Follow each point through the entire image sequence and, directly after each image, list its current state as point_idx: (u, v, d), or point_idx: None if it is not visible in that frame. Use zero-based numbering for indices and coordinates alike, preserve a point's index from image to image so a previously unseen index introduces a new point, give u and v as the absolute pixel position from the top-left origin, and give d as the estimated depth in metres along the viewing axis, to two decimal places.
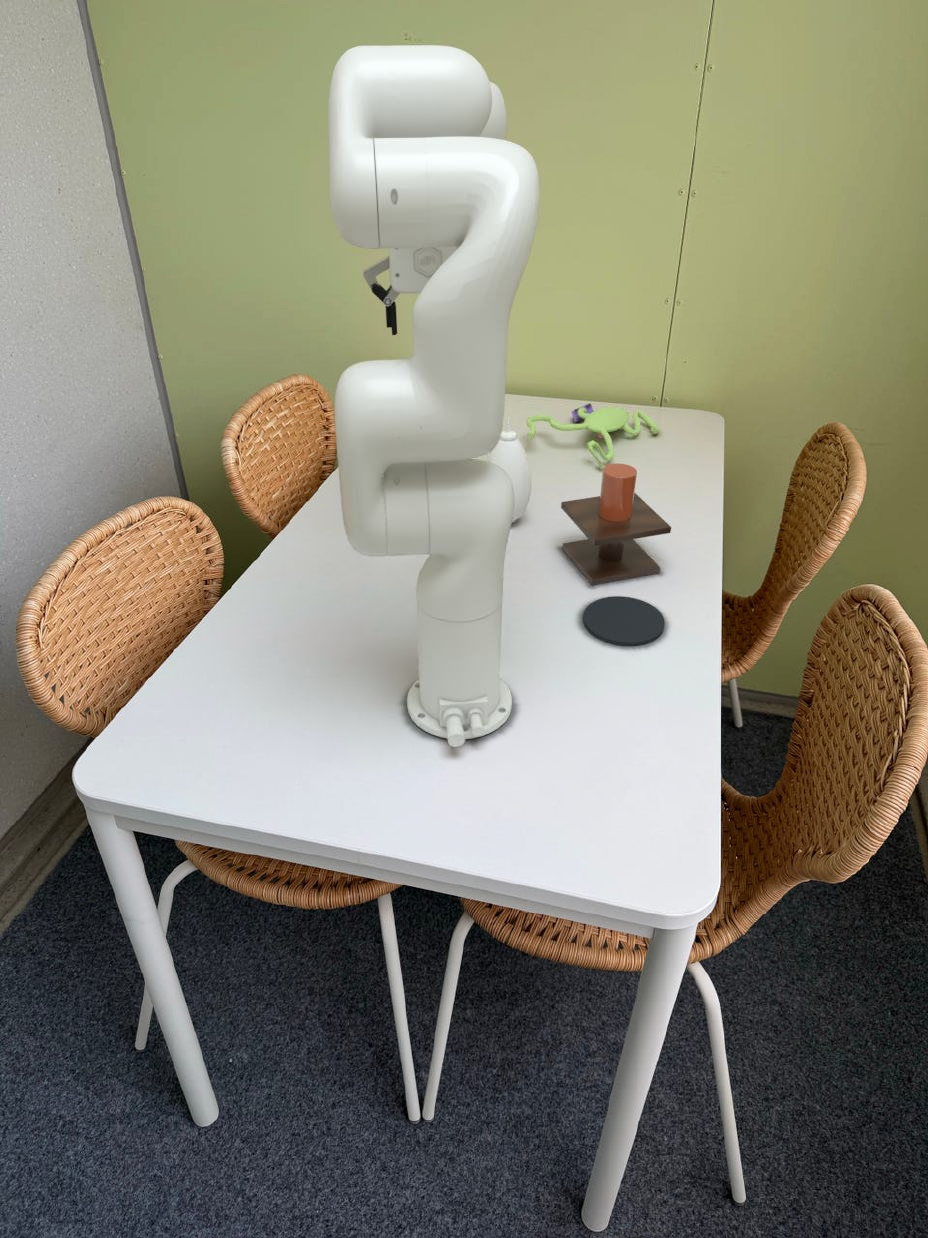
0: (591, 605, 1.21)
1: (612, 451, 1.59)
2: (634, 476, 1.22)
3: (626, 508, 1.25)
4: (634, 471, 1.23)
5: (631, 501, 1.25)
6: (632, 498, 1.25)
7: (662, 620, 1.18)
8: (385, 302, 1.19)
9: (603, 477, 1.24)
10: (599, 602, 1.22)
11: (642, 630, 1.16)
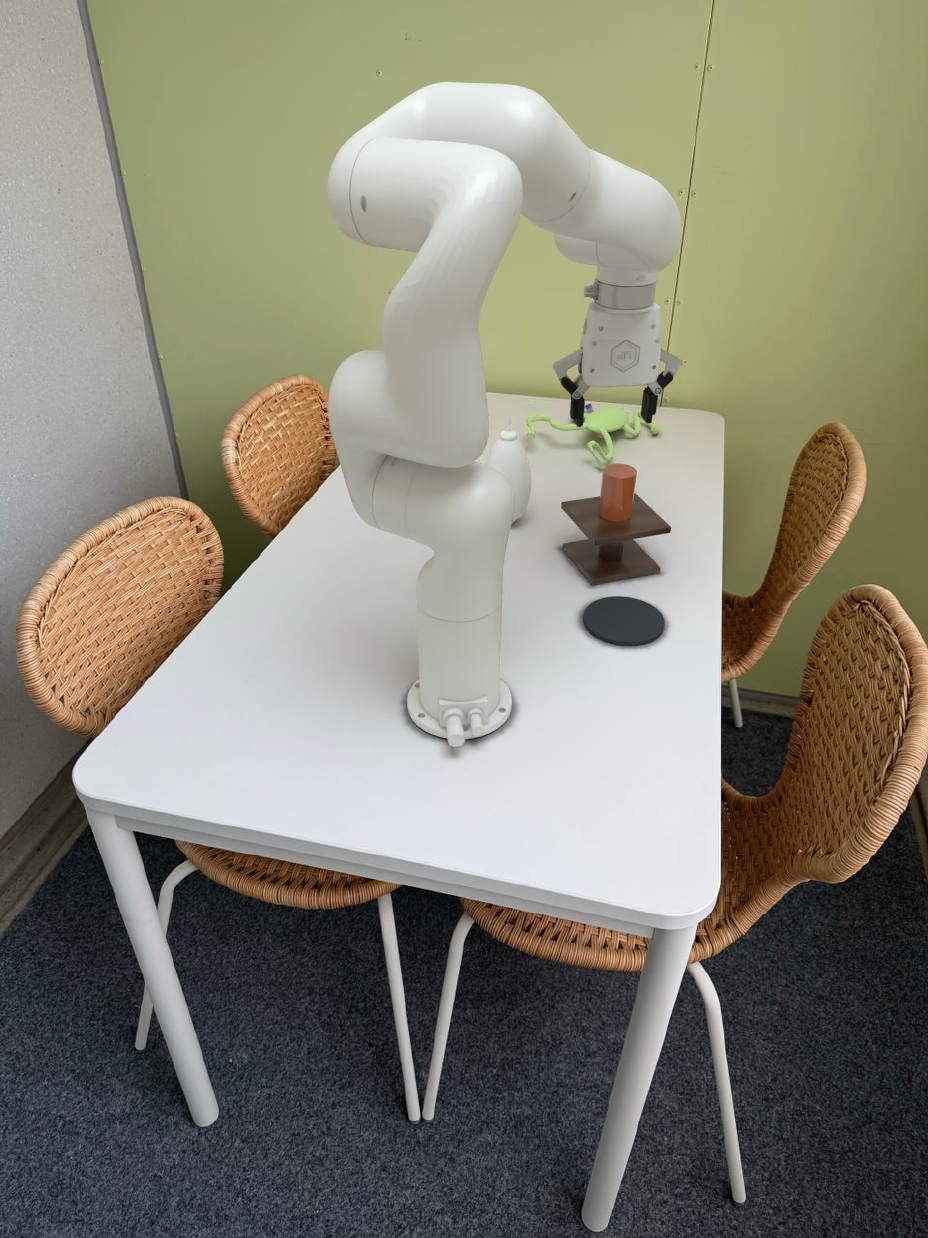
0: (591, 605, 1.21)
1: (612, 451, 1.59)
2: (634, 476, 1.22)
3: (626, 508, 1.25)
4: (634, 471, 1.23)
5: (631, 501, 1.25)
6: (632, 498, 1.25)
7: (662, 620, 1.18)
8: (574, 395, 1.16)
9: (603, 477, 1.24)
10: (599, 602, 1.22)
11: (642, 630, 1.16)
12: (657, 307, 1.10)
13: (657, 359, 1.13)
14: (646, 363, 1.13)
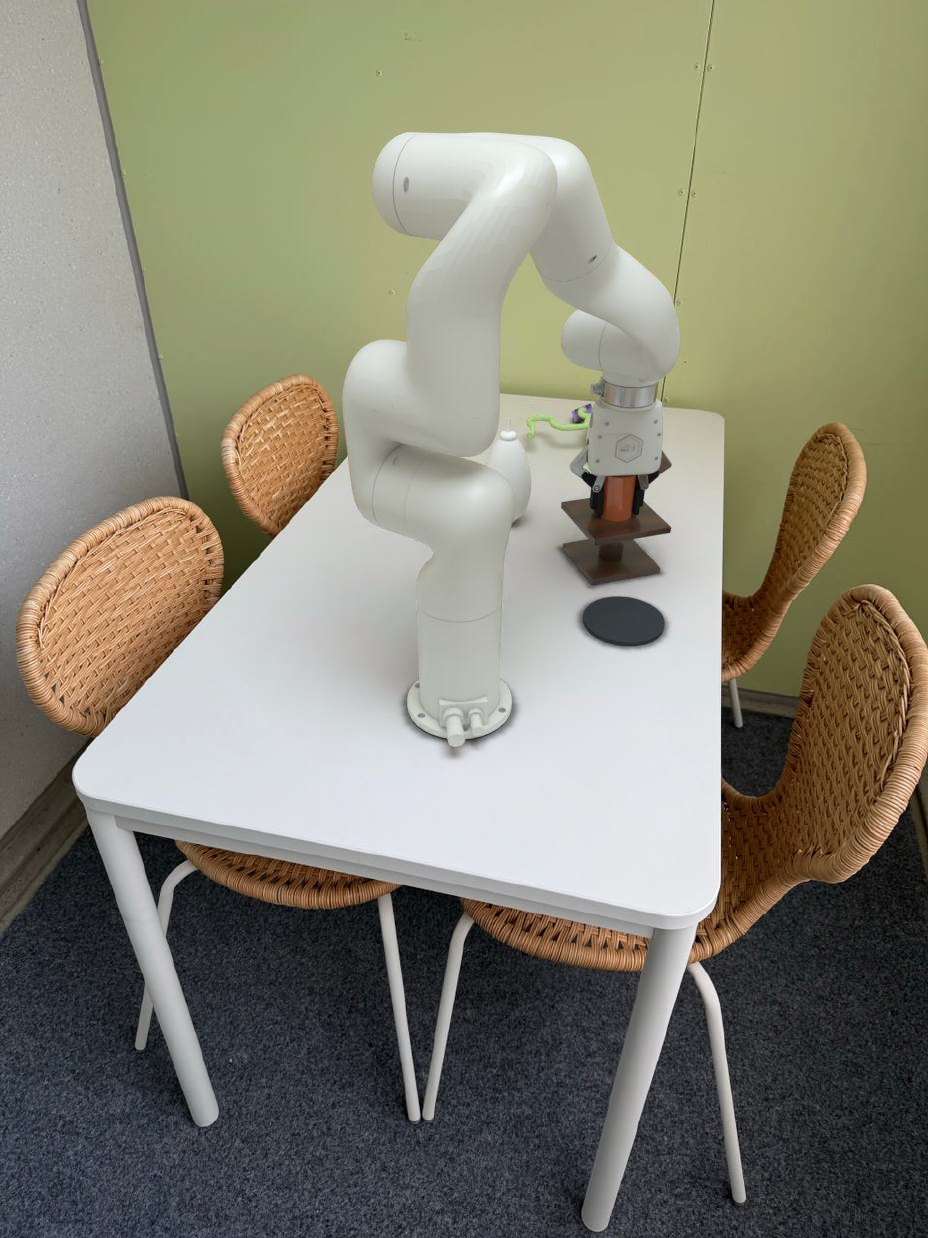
0: (591, 605, 1.21)
1: None
2: (634, 476, 1.22)
3: (626, 508, 1.25)
4: None
5: (631, 501, 1.25)
6: (632, 498, 1.25)
7: (662, 620, 1.18)
8: (594, 489, 1.23)
9: None
10: (599, 602, 1.22)
11: (642, 630, 1.16)
12: (659, 404, 1.17)
13: (659, 451, 1.19)
14: (649, 455, 1.19)
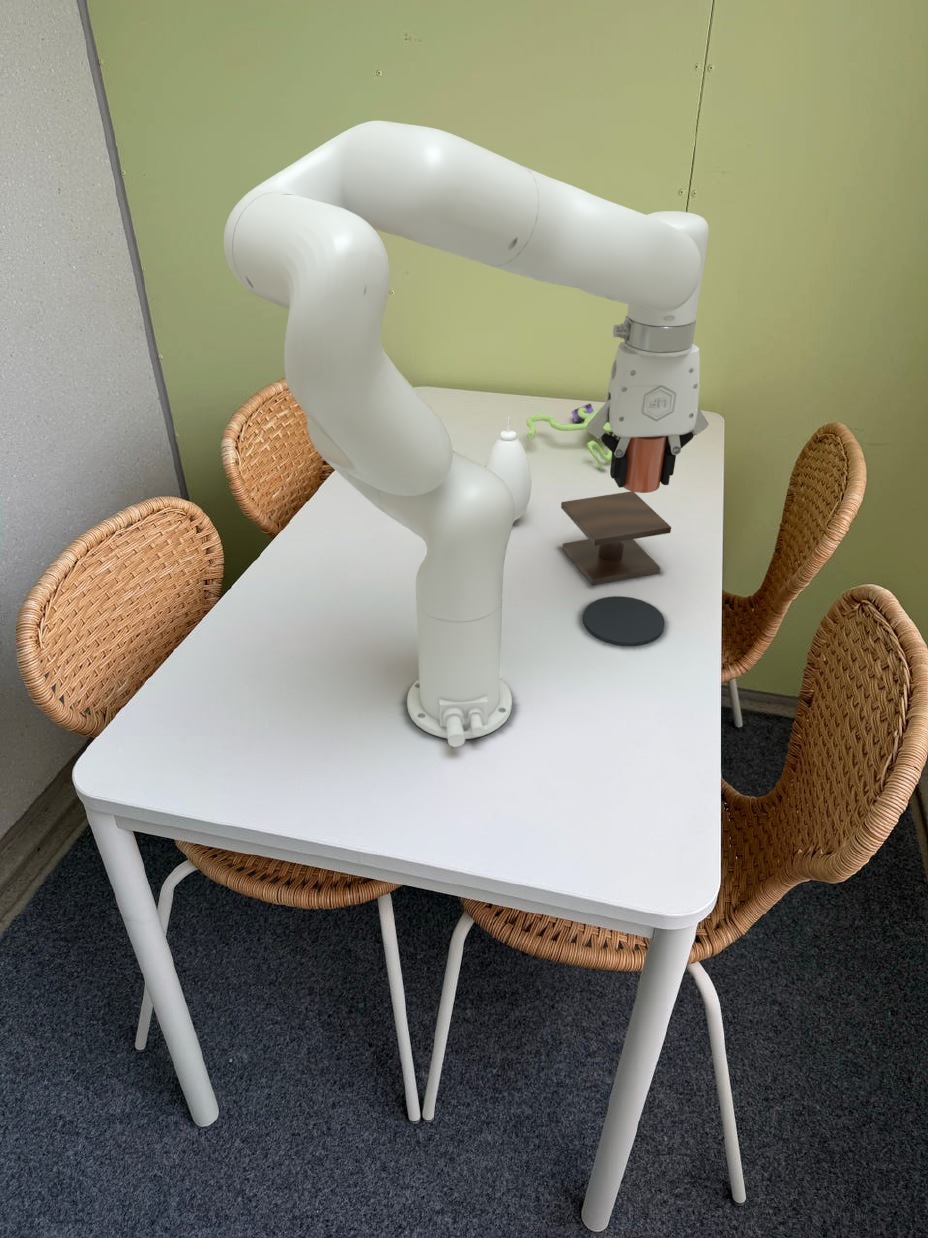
0: (591, 605, 1.21)
1: None
2: (664, 438, 1.03)
3: (654, 477, 1.05)
4: None
5: (660, 468, 1.05)
6: (661, 464, 1.05)
7: (662, 620, 1.18)
8: (617, 454, 1.04)
9: None
10: (599, 602, 1.22)
11: (642, 630, 1.16)
12: (696, 349, 0.97)
13: (695, 407, 1.00)
14: (682, 411, 1.00)
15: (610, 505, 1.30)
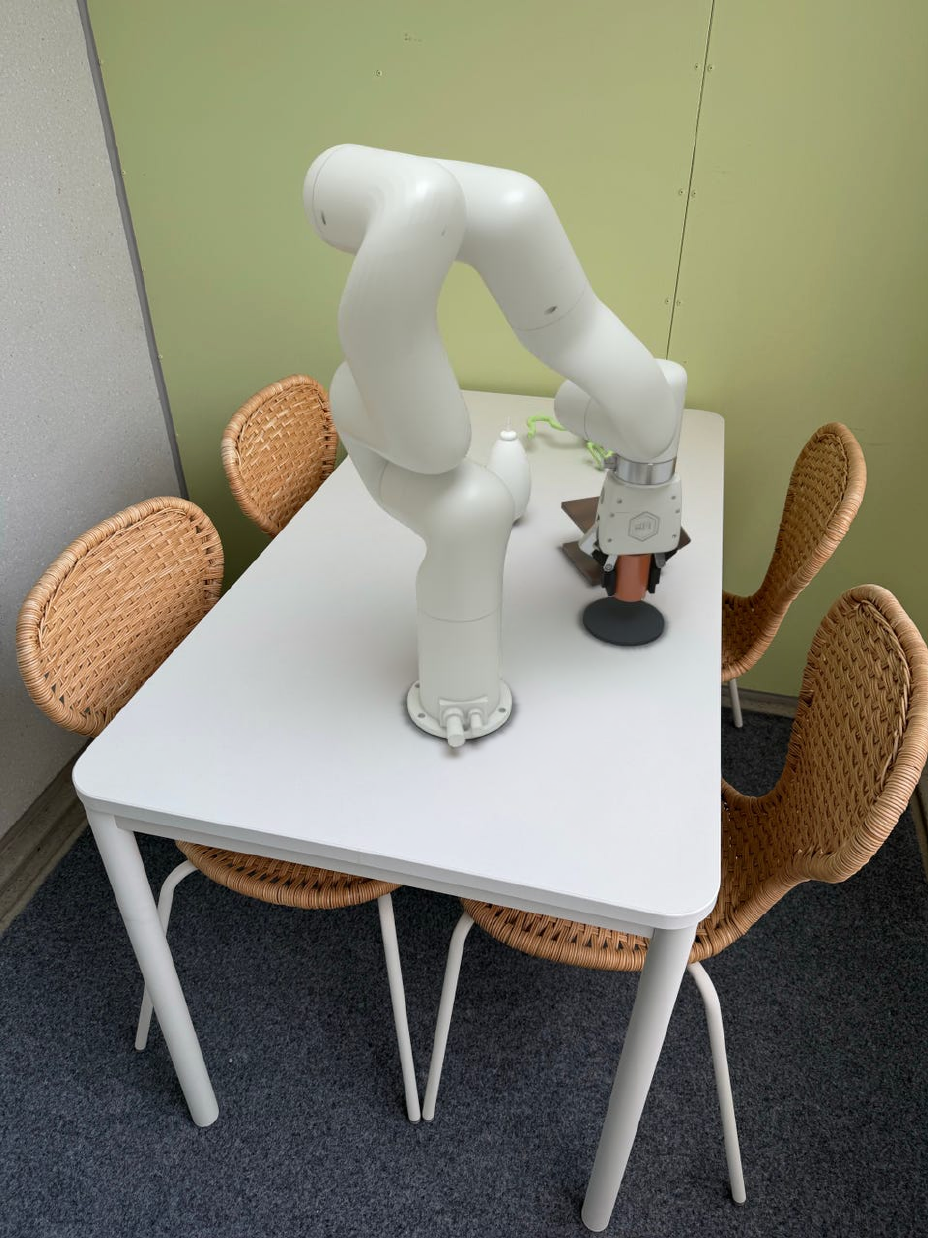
0: (591, 605, 1.21)
1: None
2: (650, 554, 1.11)
3: (641, 588, 1.13)
4: None
5: (646, 580, 1.13)
6: (647, 576, 1.13)
7: (662, 620, 1.18)
8: (606, 568, 1.12)
9: None
10: (599, 602, 1.22)
11: (642, 630, 1.16)
12: (678, 478, 1.05)
13: (677, 528, 1.08)
14: (666, 532, 1.08)
15: None
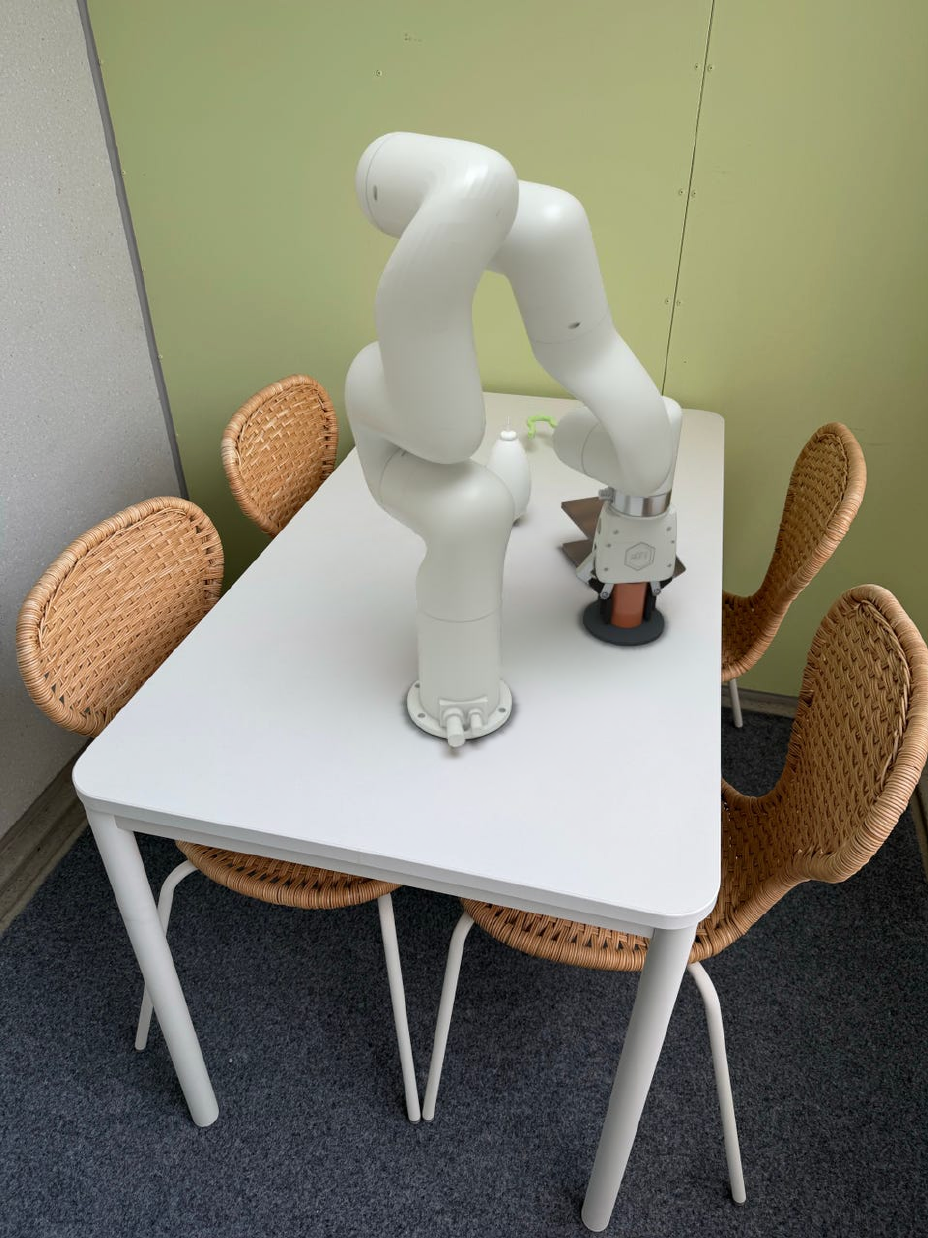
0: (591, 605, 1.21)
1: None
2: (645, 582, 1.13)
3: (637, 614, 1.16)
4: None
5: (642, 607, 1.16)
6: (643, 603, 1.16)
7: (662, 620, 1.18)
8: (602, 596, 1.15)
9: None
10: None
11: (642, 630, 1.16)
12: (673, 510, 1.08)
13: (672, 558, 1.11)
14: (661, 562, 1.11)
15: None
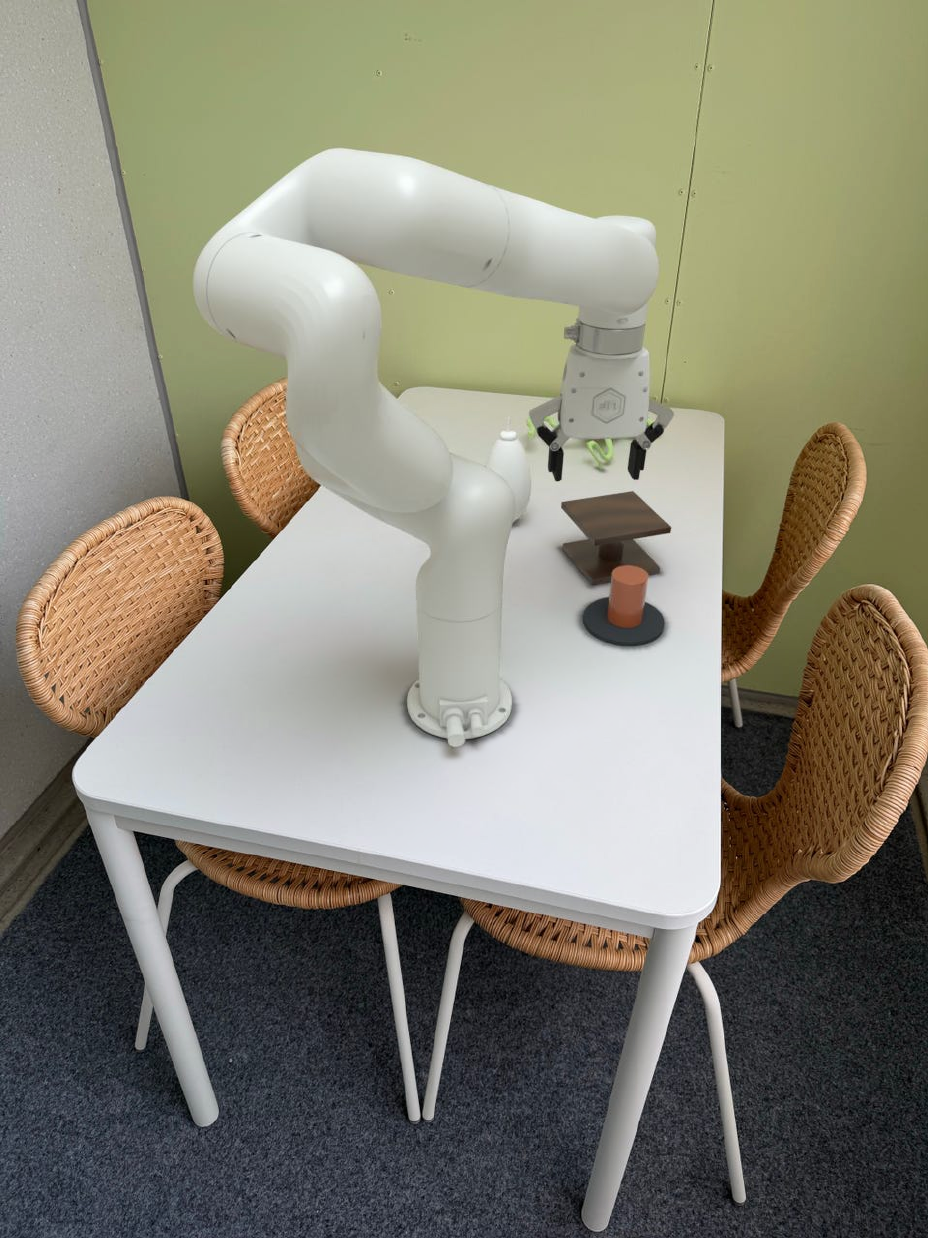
0: (591, 605, 1.21)
1: (611, 451, 1.59)
2: (645, 582, 1.14)
3: (637, 614, 1.16)
4: (646, 576, 1.14)
5: (642, 607, 1.16)
6: (643, 603, 1.16)
7: (662, 620, 1.18)
8: (552, 446, 1.04)
9: (612, 582, 1.15)
10: (599, 602, 1.22)
11: (642, 630, 1.16)
12: (646, 353, 0.98)
13: (645, 410, 1.01)
14: (632, 414, 1.01)
15: (610, 505, 1.30)
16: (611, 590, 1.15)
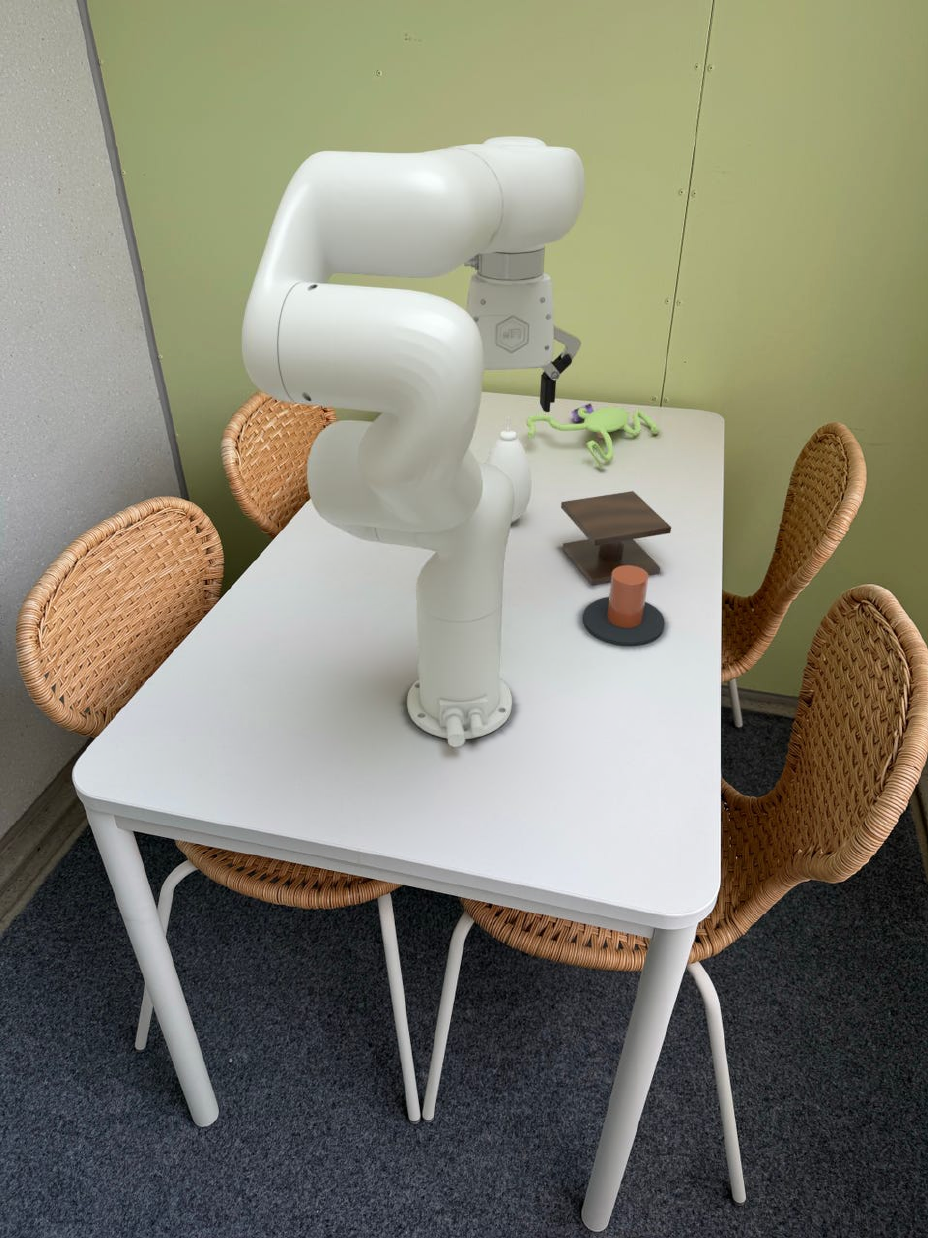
0: (591, 605, 1.21)
1: (611, 451, 1.59)
2: (645, 582, 1.14)
3: (637, 614, 1.16)
4: (646, 576, 1.14)
5: (642, 607, 1.16)
6: (643, 603, 1.16)
7: (662, 620, 1.18)
8: None
9: (612, 582, 1.15)
10: (599, 602, 1.22)
11: (642, 630, 1.16)
12: (547, 278, 0.97)
13: (550, 338, 1.00)
14: (537, 343, 1.00)
15: (610, 505, 1.30)
16: (611, 590, 1.15)
